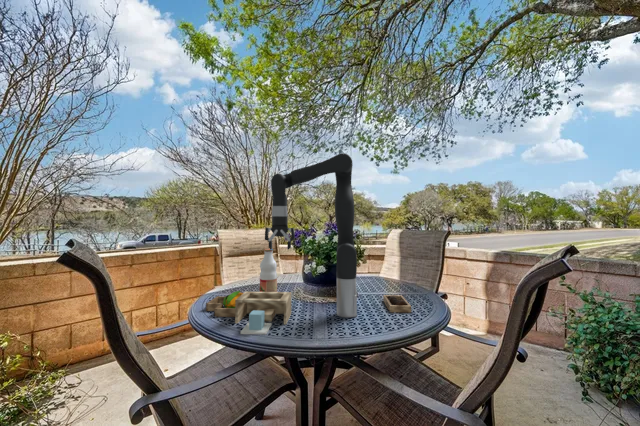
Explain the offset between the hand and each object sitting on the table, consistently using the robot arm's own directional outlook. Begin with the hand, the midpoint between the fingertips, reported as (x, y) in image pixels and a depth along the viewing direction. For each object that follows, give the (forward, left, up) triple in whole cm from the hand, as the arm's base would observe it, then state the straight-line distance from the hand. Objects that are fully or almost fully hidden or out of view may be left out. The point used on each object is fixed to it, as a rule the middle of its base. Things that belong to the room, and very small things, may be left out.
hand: (279, 249), depth 138 cm
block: (+5, +22, -29) cm, 37 cm away
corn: (+25, -8, -30) cm, 40 cm away
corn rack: (+22, -6, -30) cm, 38 cm away
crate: (+5, +9, -30) cm, 32 cm away
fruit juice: (+10, -19, -30) cm, 37 cm away
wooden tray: (-58, -12, -30) cm, 66 cm away
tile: (+5, +22, -30) cm, 38 cm away
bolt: (-58, -11, -30) cm, 66 cm away
